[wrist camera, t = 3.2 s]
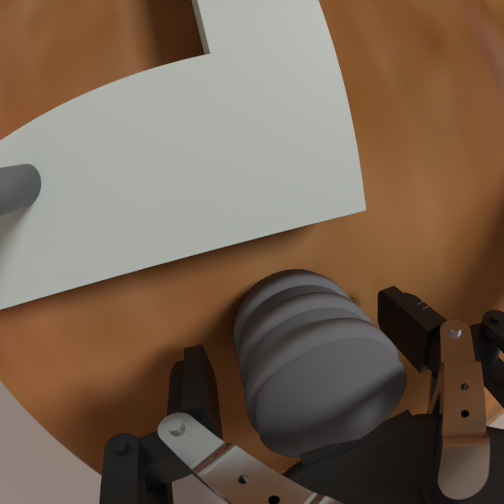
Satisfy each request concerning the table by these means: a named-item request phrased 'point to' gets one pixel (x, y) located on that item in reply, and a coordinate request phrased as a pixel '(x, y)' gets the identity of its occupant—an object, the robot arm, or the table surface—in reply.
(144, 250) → the board
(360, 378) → the grooved grey cylinder
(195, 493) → the cup
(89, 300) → the table surface
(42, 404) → the table surface
